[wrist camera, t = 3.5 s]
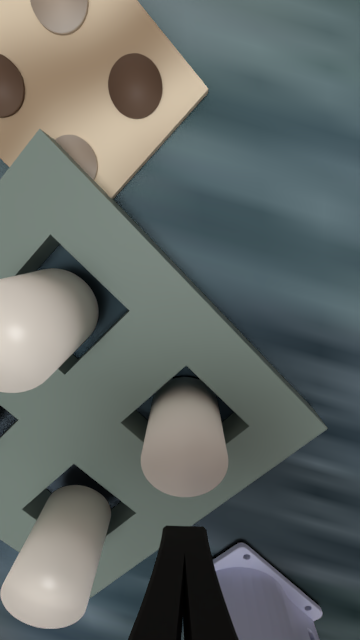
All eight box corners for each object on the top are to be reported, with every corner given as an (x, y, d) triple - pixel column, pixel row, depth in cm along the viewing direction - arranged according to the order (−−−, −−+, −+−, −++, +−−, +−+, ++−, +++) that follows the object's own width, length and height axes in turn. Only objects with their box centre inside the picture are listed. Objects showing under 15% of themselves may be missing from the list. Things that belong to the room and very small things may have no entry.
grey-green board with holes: (312, 407, 18) (327, 428, 16) (96, 567, 22) (87, 599, 20) (59, 143, 14) (39, 128, 12) (-143, 395, 18) (-182, 414, 16)
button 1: (124, 512, 18) (104, 602, 13) (82, 545, 18) (50, 639, 14) (75, 473, 17) (36, 554, 13) (32, 509, 18) (-17, 597, 13)
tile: (207, 93, 13) (208, 86, 13) (81, 235, 15) (77, 234, 15) (56, -94, 12) (49, -111, 11) (-65, 90, 14) (-77, 84, 13)
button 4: (115, 310, 14) (83, 342, 10) (63, 362, 15) (13, 413, 11) (52, 250, 13) (-13, 256, 9) (1, 308, 14) (-80, 338, 10)
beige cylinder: (231, 408, 17) (246, 464, 13) (183, 446, 18) (183, 510, 14) (186, 364, 17) (185, 408, 12) (138, 405, 18) (122, 460, 13)
